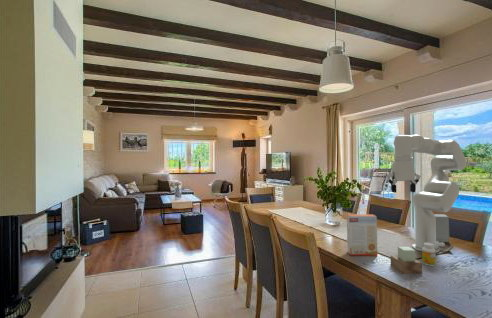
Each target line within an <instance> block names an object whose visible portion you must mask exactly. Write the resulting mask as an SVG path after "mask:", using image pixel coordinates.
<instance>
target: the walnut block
mask: <svg viewBox="0 0 492 318" xmlns="http://www.w3.org/2000/svg"><path fill="white" fill-rule="evenodd" d="M390 266H391V267H392V268H393V269H395V270H396V271H397V272H399V273H400V274H403V275H404V274H407V275H408V274H409V275H410V274H412V275H413V274H414V275H415V274H423V263H422V261H420V260H419V259H417V258H415V261H403V260H401V259H400V258H398V254H397V255H395V254H394V255H390Z"/></svg>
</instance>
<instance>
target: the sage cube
mask: <svg viewBox="0 0 492 318" xmlns="http://www.w3.org/2000/svg"><path fill="white" fill-rule="evenodd" d="M397 255H398V258H400V259H401V260H403V261H415V259H416V249H414V248H413V247H410V246H397Z"/></svg>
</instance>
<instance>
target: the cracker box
mask: <svg viewBox="0 0 492 318" xmlns="http://www.w3.org/2000/svg"><path fill="white" fill-rule="evenodd" d="M377 222H378V217H377V216H376V214H373V213H372V214H370V213H369V214H367V213H366V214H365V213H363V214H361V213H360V214H358V213H356V214H355V213H347V214H346V243H347V245H346V246H347V247H346V248H347V249H346V250H347V253H348V254H349V256H364V257H366V256H369V257H370V256H371V257H377V256H378V223H377Z"/></svg>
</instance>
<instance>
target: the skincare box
mask: <svg viewBox="0 0 492 318" xmlns="http://www.w3.org/2000/svg"><path fill="white" fill-rule="evenodd" d="M433 214H434V216H435V218H436V242H439V243H450V223H449V222H450V217H449V215H448V216H447V215H446V214H444V213H443V214H442V213H441V214H440V213H439V214H437V213H436V214H435V213H433Z"/></svg>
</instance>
